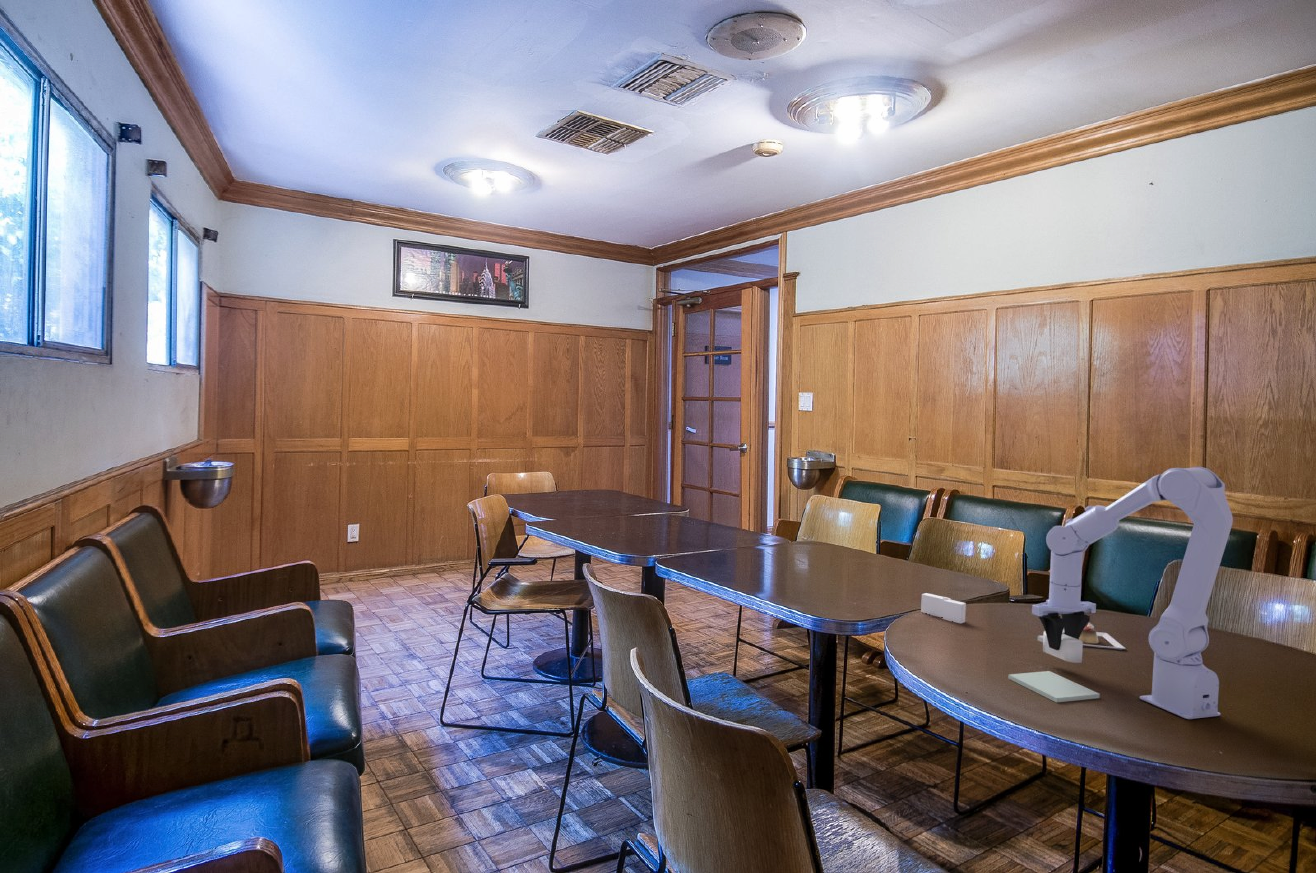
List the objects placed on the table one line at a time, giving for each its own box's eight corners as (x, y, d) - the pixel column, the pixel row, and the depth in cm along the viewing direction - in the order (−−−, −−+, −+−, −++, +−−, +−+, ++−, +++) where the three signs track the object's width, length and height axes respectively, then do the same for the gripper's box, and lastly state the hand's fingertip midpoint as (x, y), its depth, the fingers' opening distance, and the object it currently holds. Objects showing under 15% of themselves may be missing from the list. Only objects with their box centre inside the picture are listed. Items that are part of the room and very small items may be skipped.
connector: (1086, 662, 146) (1087, 642, 146) (1071, 663, 146) (1072, 643, 145) (1047, 646, 156) (1048, 628, 156) (1033, 647, 155) (1034, 629, 155)
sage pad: (1099, 697, 135) (1099, 693, 135) (1056, 702, 133) (1056, 698, 133) (1049, 674, 147) (1049, 670, 147) (1008, 678, 144) (1008, 674, 144)
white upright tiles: (909, 611, 194) (910, 589, 194) (951, 611, 194) (952, 590, 194) (933, 627, 179) (934, 605, 179) (978, 628, 179) (979, 605, 179)
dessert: (1067, 647, 167) (1068, 627, 166) (1052, 632, 178) (1053, 613, 178) (1125, 653, 164) (1126, 632, 164) (1106, 637, 175) (1107, 617, 175)
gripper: (1077, 577, 155) (1074, 639, 156) (1021, 580, 151) (1019, 643, 152) (1105, 585, 149) (1102, 650, 149) (1048, 588, 145) (1045, 655, 145)
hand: (1062, 647), depth 150 cm, fingers closed on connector, 4 cm apart
